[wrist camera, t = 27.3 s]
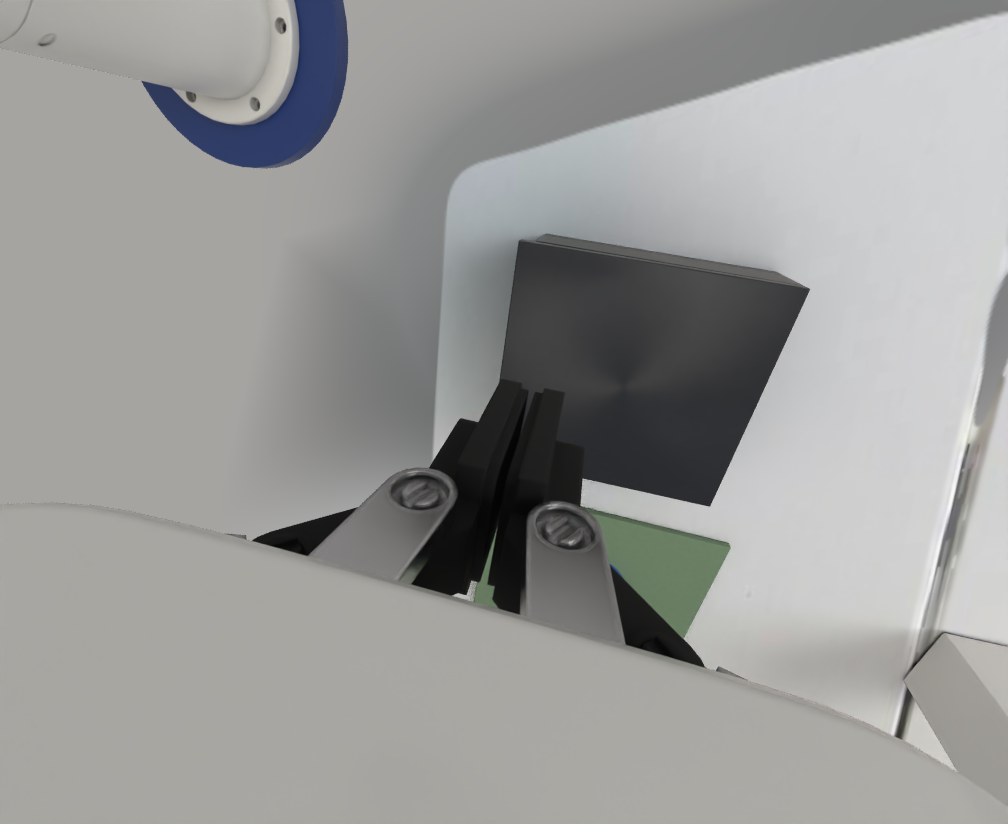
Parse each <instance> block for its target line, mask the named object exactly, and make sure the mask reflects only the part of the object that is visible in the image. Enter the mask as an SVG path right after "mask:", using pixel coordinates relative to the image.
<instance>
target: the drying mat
mask: <svg viewBox="0 0 1008 824" xmlns="http://www.w3.org/2000/svg"><path fill="white" fill-rule="evenodd" d="M581 508H583V507H581ZM583 509H585V510H586V511H588V512H589V513H590V514H592V515H593V516H594V517H595V519H596V520H597V521H598V522H599V523H600V526H601V528H602V531H603V534H604V539H605V544H606V549H607V554H608V559H609V564H611V565H612V566H614V567H615V568H616V569H617V570H618V571H619V572H620V573H621V575H622V576H623V578H624V580H625V581H626V582H627V583H628V584H629V585H630V586H631V587H632V588H633V589H634V590H635V591H636V592H637V593H638V594H639V595H640V596H641V597H642V598H643V599H644V600H645V601H646V602H647V603H648V604H649V605H650V606H651V607H652V608H653V609H654V610H655V611H656V612H657V613H658V614H659V615H660V616H661V617H662V618H663V619H664V620H665V621H666V622H667V623H668V624H669V625H670V626H671V627H672V628H673V629H674V630H675V631H676V632H677V633H678V634H679V635H680V636H681V637H682V638H684V637H685V635H686V633H687V631H688V629H689V627H690V625H691V623H692V621H693V619H694V617H695V615H696V614H697V612H698V610H699V608H700V606H701V604H702V602H703V600H704V598H705V596H706V594H707V592H708V590H709V589H710V587H711V585H712V583H713V581H714V579H715V577H716V575H717V573H718V571H719V569H720V567H721V565H722V564H723V562H724V560H725V558H726V556H727V554H728V552H729V550H730V545H729V543H725V542H721V541H717V540H713V539H709V538H705V537H700V536H696V535H692V534H688V533H684V532H680V531H676V530H672V529H668V528H664V527H660V526H656V525H652V524H648V523H644V522H640V521H636V520H632V519H628V518H624V517H620V516H616V515H612V514H608V513H604V512H600V511H596V510H592V509H587V508H583ZM496 532H497V530H496ZM495 538H496V533H495V536H494V540H493V543H492V546H491V549H490V552H489V556H488V559H487V562H486V565H485V568H484V571H483V575H482V578H481V581H480V583H479V582H477V585H476V591H475V598H474V602H476V603H479V604H483V605H486V606H490V607H494V608H497V609H498V607H497V606H496V604H495V603H493V600H492V597H493V592H494V586H490V585H487V582H488V576H489V571H490V565H491V560H492V554H493V549H494V543H495Z"/></svg>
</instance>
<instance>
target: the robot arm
mask: <svg viewBox="0 0 1008 824" xmlns="http://www.w3.org/2000/svg"><path fill="white" fill-rule="evenodd" d="M0 48H2V49H6V50H11V51H15V52H19V53H24V54H28V55H32V56H37V57H41V58H46V59H50V60H54V61H58V62H63V63H67V64H71V65H76V66H80V67H84V68H89V69H93V70H97V71H102V72H107V73H110V74H115V75H119V76H123V77H128V78H132V79H136V80H141V81H145V82H149V83H154V84H158V85H162V86H167V87H171V88H172V89H173V90H174V91H175V92H176V93H177V94H178V95H179V96H180V97H181V98H182V99H183V100H184V101H185V102H186V103H187V104H188V105H190V106H191V107H192V108H193V109H195V110H196V111H197V112H199V113H200V114H202V115H204V116H206V117H208V118H210V119H212V120H215V121H218V122H222V123H226V124H232V125H240V126H243V125H252V124H256V123H258V122H261V121H263V120H266V119H267V118H268V117H270V116H271V115H272V114H274V113H275V112H276V111H277V110H278V109H279V108H280V106H281V105H282V104H283V102H284V101H285V100H286V98H287V96H288V94H289V92H290V90H291V87H292V85H293V82H294V78H295V75H296V71H297V67H298V58H299V48H300V45H299V24H298V18H297V13H296V7H295V2H294V0H0ZM528 394H529V390H526V389H522V383H520V382H515V381H510V380H506V379H501V381H500V382H499V384H498V386H497V388H496V390H495V392H494V394H493V396H492V397H491V399H490V401H489V403H488V405H487V407H486V409H485V411H484V413H483V414H482V416H481V418H480V420H479V422H475V421H471V420H466V419H462V418H461V419H459V421H458V422H457V424H456V425H455V427H454V428H453V430H452V432H451V433H450V435H449V437H448V438H447V440H446V441H445V443H444V445H443V446H442V448H441V449H440V451H439V453H438V454H437V456H436V458H435V459H434V461H433V462H432V464H431V466H430V467H429V468H411V469H405V470H402V471H400V472H397V473H395V474H394V475H392V476H391V477H390V478H388V479H387V480H386V481H385V482H384V483H383V484H382V485H381V486H380V487H379V488H378V489H377V490H376V491H375V492H374V493H373V494H372V495H371V496H370V497H369V498H367V499H366V500H365V501H364V502H363V503H362V504H361V505H360V506H359V507H357V508H354V509H350V510H346V511H343V512H339V513H336V514H332V515H329V516H325V517H322V518H318V519H315V520H311V521H307V522H304V523H300V524H297V525H293V526H290V527H286V528H282V529H279V530H275V531H272V532H269V533H266V534H264V535H261V536H259V537H257V538H255V539H254V540H252V541H250V540H247V539H246V535H235V534H223V533H219V532H215V531H212V530H208V529H204V528H200V527H196V526H192V525H188V524H184V523H180V522H175V521H171V520H166V519H162V518H158V517H154V516H149V515H145V514H140V513H136V512H132V511H127V510H121V509H114V508H108V507H101V506H95V505H83V504H66V503H25V504H24V503H23V504H4V505H0V824H1008V807H1007V806H1005V805H1004V804H1003V803H1001V802H1000V801H999V800H997V799H996V798H995V797H993V796H992V795H991V794H989V793H988V792H986V791H985V790H984V789H982V788H981V787H979V786H978V785H976V784H975V783H973V782H972V781H970V780H969V779H967V778H966V777H965V776H963V775H961V774H960V773H958V772H956V771H955V770H953V769H951V768H950V767H948V766H946V765H945V764H943V763H941V762H940V761H938V760H936V759H935V758H933V757H931V756H929V755H928V754H926V753H924V752H923V751H921V750H919V749H918V748H916V747H914V746H913V745H911V744H909V743H907V742H905V741H903V740H901V739H899V738H896V737H894V736H892V735H890V734H888V733H886V732H884V731H882V730H880V729H878V728H876V727H874V726H872V725H870V724H868V723H866V722H863V721H861V720H858V719H856V718H853V717H851V716H848V715H846V714H843V713H841V712H838V711H836V710H833V709H831V708H828V707H826V706H823V705H821V704H818V703H815V702H812V701H809V700H806V699H803V698H800V697H797V696H794V695H791V694H788V693H784V692H781V691H778V690H775V689H772V688H769V687H766V686H763V685H760V684H757V683H754V682H750V681H748V680H746V679H744V678H742V677H740V676H738V675H736V674H734V673H732V672H730V671H728V670H725V669H723V668H721V667H718V668H717V670H716V671H714V670H710V669H707V668H705V666H704V664H703V662H702V660H701V659H700V657H699V656H698V655H697V654H696V653H695V651H694V650H693V649H692V648H691V646H690V645H689V644H688V643H687V642H686V641H685V640H684V639H683V638H682V637H681V636H680V635H679V634H678V633H677V632H676V631H675V630H674V629H673V628H672V627H671V626H670V625H669V624H668V623H667V622H666V621H665V620H664V619H663V618H662V617H661V616H660V615H659V614H658V613H657V612H656V611H655V610H654V609H653V608H652V607H651V606H650V605H649V604H648V603H647V602H646V601H645V600H644V599H643V598H642V597H641V596H640V595H639V594H638V593H637V592H636V591H635V590H634V589H633V588H632V587H631V586H630V585H629V584H628V583H627V582H626V581H625V580H624V579H623V578H622V577H621V576H620V575H619V574H618V573H617V572H616V571H615V570H614V569H613V568H612V566H611V565H610V564H609V559H608V554H607V549H606V544H605V539H604V534H603V531H602V528H601V526H600V523H599V522H598V521H597V520H596V519H595V517H594V516H593V515H592V514H590V513H589V512H588V511H586V510H585V509H583V508H581V507H580V502H581V489H582V476H583V463H584V447H583V446H579V445H574V444H570V443H566V442H561V441H557V440H556V437H557V432H558V426H559V421H560V416H561V411H562V406H563V400H564V395H565V392H561V391H556V390H552V389H547V388H544V391H543V393H540V392H535V394H534V397H533V400H532V402H531V405H530V408H529V411H528V414H527V417H526V420H525V423H524V426H523V429H522V425H523V420H524V415H525V410H526V404H527V399H528ZM521 431H522V432H521ZM496 530H497V532H496ZM495 533H496V538H495V543H494V549H493V554H492V560H491V565H490V571H489V576H488V582H487V585H490V586H494V592H493V597H492V600H493V603H495V604H496V606H497V607H498V609H497V608H494V607H490V606H486V605H483V604H479V603H476V602H472V601H468V600H465V599H461V598H458V597H454V596H452V595H455V594H457V593H460V594H463V595H467V592H468V589H469V586H470V583H471V580H472V581H476V582H479V583H480V581H481V578H482V575H483V571H484V568H485V565H486V562H487V559H488V556H489V552H490V549H491V546H492V543H493V540H494V536H495Z"/></svg>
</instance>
